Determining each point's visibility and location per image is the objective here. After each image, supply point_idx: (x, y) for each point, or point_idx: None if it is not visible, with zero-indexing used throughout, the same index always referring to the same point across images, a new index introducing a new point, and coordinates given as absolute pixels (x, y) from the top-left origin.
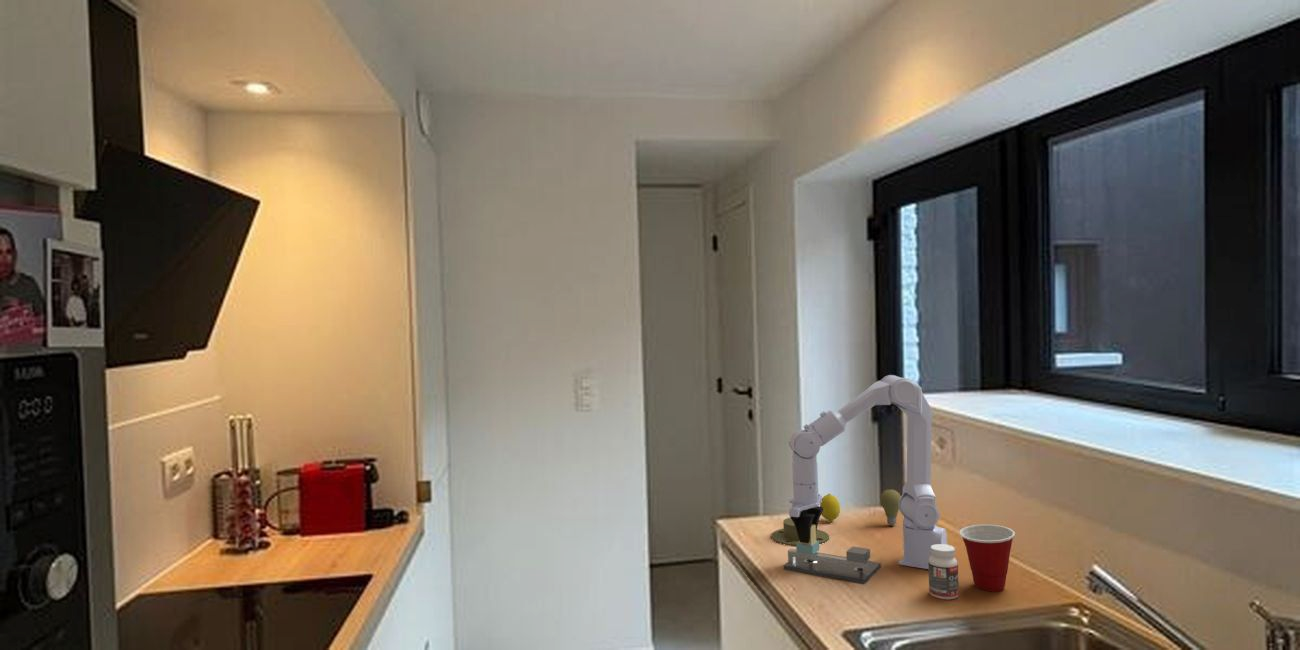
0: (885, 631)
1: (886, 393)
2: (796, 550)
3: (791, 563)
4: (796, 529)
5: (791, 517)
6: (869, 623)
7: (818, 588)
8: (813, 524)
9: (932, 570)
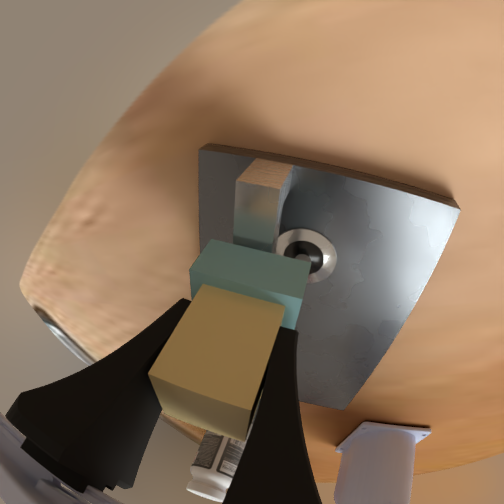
0: (76, 349)
1: None
2: (207, 244)
3: (236, 179)
4: (122, 347)
5: (32, 395)
6: (77, 339)
7: (126, 279)
8: (239, 437)
9: (196, 458)
